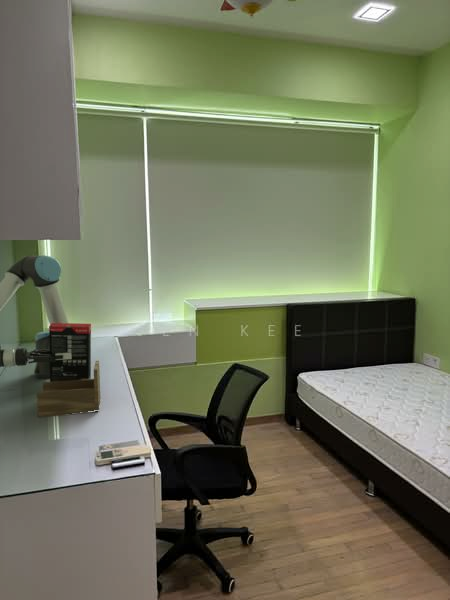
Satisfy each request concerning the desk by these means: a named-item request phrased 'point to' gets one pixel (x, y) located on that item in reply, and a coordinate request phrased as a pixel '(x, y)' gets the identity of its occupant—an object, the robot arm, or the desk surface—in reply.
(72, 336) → the graphics card box
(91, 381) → the walnut shelf slot
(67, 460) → the desk surface
